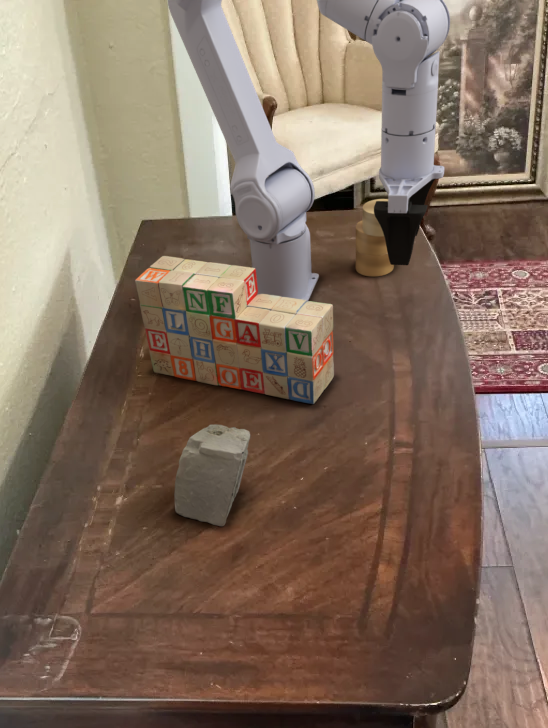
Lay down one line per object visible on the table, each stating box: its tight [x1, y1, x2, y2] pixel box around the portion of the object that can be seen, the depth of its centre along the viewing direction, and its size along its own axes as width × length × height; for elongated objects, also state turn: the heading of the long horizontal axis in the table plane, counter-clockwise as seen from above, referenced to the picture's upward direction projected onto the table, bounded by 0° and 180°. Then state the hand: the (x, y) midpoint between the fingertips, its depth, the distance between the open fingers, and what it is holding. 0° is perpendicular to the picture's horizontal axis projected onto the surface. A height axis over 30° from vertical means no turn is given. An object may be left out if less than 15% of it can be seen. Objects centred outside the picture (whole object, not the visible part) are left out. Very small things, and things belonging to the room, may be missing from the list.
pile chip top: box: [355, 219, 388, 255], centre depth 116 cm, size 5×5×3 cm
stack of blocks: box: [134, 255, 335, 405], centre depth 98 cm, size 21×6×12 cm, turn 63°
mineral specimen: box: [173, 424, 251, 527], centre depth 83 cm, size 7×9×8 cm
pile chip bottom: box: [355, 249, 395, 277], centre depth 118 cm, size 5×5×3 cm
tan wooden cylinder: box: [362, 198, 388, 236], centre depth 113 cm, size 5×5×3 cm
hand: (404, 248), depth 101 cm, fingers open, 7 cm apart
